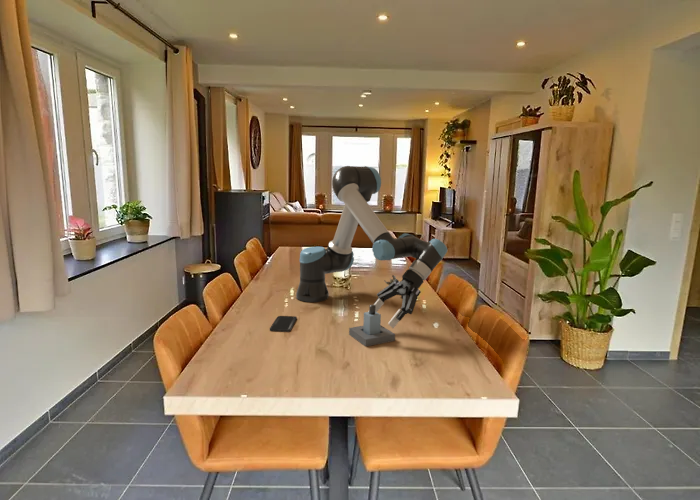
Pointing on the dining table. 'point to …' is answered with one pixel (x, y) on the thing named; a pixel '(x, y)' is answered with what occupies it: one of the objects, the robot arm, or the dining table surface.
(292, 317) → the phone
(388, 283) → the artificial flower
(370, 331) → the connector plug
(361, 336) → the frame
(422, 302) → the dining table surface
